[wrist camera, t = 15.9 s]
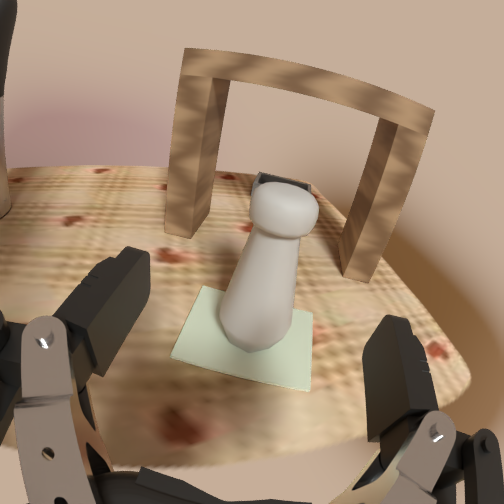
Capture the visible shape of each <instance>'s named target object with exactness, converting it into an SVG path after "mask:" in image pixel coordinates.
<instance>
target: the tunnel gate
mask: <svg viewBox="0 0 504 504" xmlns="http://www.w3.org/2000/svg"><path fill="white" fill-rule="evenodd" d="M231 80H234V81H240V82H247V83H253V84H258V85H263V86H269V87H273V88H278V89H283V90H287V91H292V92H296V93H301V94H304V95H308V96H313V97H316V98H320V99H324V100H327V101H331V102H335V103H338V104H341V105H344V106H347V107H351V108H354V109H357V110H360V111H363V112H366V113H369V114H372V115H375V116H378V117H380V118H379V122H378V125H377V128H376V132H375V135H374V139H373V142H372V145H371V149H370V152H369V155H368V159H367V162H366V165H365V168H364V171H363V174H362V177H361V180H360V183H359V187H358V189H357V192H356V195H355V198H354V201H353V204H352V207H351V210H350V212H349V215H348V218H347V221H346V224H345V226H344V229H343V232H342V234H341V237H340V240H339V242H338V249H339V255H340V261H341V268H342V274H343V277H345V278H349V279H353V280H357V281H362V282H366V283H369V281H370V279H371V277H372V275H373V273H374V271H375V269H376V267H377V264H378V262H379V260H380V258H381V256H382V254H383V251H384V249H385V247H386V245H387V243H388V240H389V238H390V236H391V234H392V231H393V229H394V226H395V224H396V222H397V219H398V217H399V215H400V212H401V210H402V207H403V205H404V202H405V200H406V197H407V194H408V192H409V189H410V186H411V184H412V181H413V178H414V175H415V173H416V170H417V167H418V164H419V161H420V158H421V155H422V152H423V149H424V146H425V143H426V140H427V137H428V133H429V130H430V127H431V123H432V120H433V116H434V113H435V110H433V109H431V108H428V107H426V106H424V105H422V104H419V103H417V102H415V101H412V100H410V99H408V98H405V97H403V96H401V95H398V94H396V93H393V92H391V91H388V90H385V89H382V88H380V87H377V86H374V85H371V84H369V83H366V82H363V81H360V80H357V79H354V78H351V77H347V76H344V75H341V74H337V73H333V72H330V71H326V70H323V69H319V68H315V67H311V66H307V65H303V64H299V63H294V62H289V61H284V60H279V59H274V58H269V57H263V56H257V55H251V54H244V53H236V52H228V51H219V50H208V49H196V48H185V50H184V56H183V61H182V67H181V73H180V79H179V85H178V92H177V99H176V106H175V114H174V121H173V130H172V139H171V148H170V159H169V170H168V182H167V196H166V213H165V233H169V234H173V235H177V236H181V237H185V238H189V239H191V238H192V236H193V235H194V234H195V232H196V231H197V229H198V228H199V226H200V225H201V223H202V222H203V221H204V219H205V218H206V216H207V215H208V214H209V211H210V204H211V197H212V189H213V182H214V176H215V168H216V162H217V156H218V150H219V143H220V137H221V131H222V125H223V119H224V113H225V107H226V102H227V96H228V91H229V86H230V81H231Z"/></svg>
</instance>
